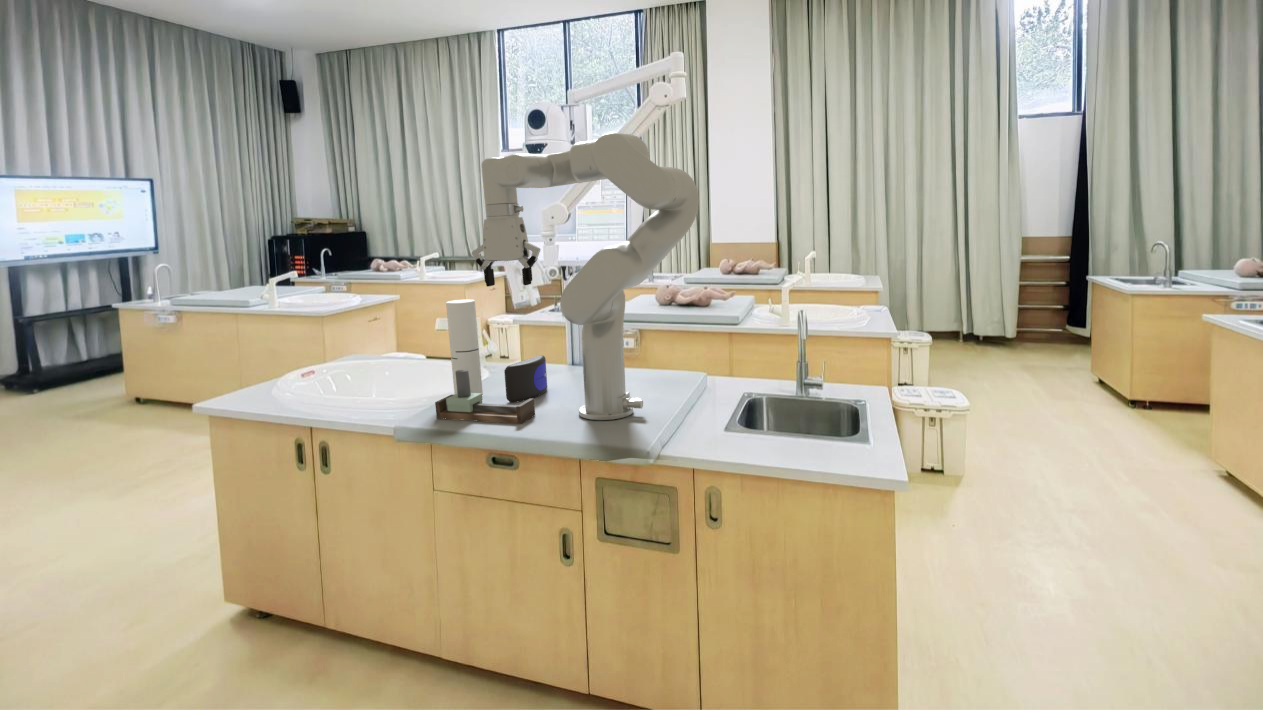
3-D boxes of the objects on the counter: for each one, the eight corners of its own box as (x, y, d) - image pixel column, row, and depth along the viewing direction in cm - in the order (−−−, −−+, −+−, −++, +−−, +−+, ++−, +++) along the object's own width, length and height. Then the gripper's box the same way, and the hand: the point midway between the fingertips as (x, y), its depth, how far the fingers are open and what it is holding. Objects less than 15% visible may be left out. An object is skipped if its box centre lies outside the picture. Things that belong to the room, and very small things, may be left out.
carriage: (483, 405, 173) (479, 368, 171) (469, 412, 168) (466, 374, 166) (461, 404, 175) (457, 367, 173) (447, 411, 169) (443, 373, 168)
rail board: (535, 415, 170) (533, 398, 169) (521, 423, 163) (520, 406, 162) (452, 410, 177) (451, 394, 176) (436, 418, 170) (435, 402, 169)
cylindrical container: (476, 400, 185) (467, 302, 180) (450, 400, 186) (441, 303, 181) (487, 393, 192) (479, 299, 187) (461, 393, 193) (453, 299, 188)
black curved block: (520, 405, 180) (517, 367, 178) (505, 403, 182) (502, 366, 180) (556, 389, 193) (554, 354, 192) (542, 388, 196) (540, 353, 194)
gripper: (542, 209, 171) (548, 282, 174) (476, 214, 176) (483, 284, 179) (529, 210, 164) (535, 286, 167) (461, 214, 169) (468, 288, 172)
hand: (508, 285), depth 173 cm, fingers open, 9 cm apart
